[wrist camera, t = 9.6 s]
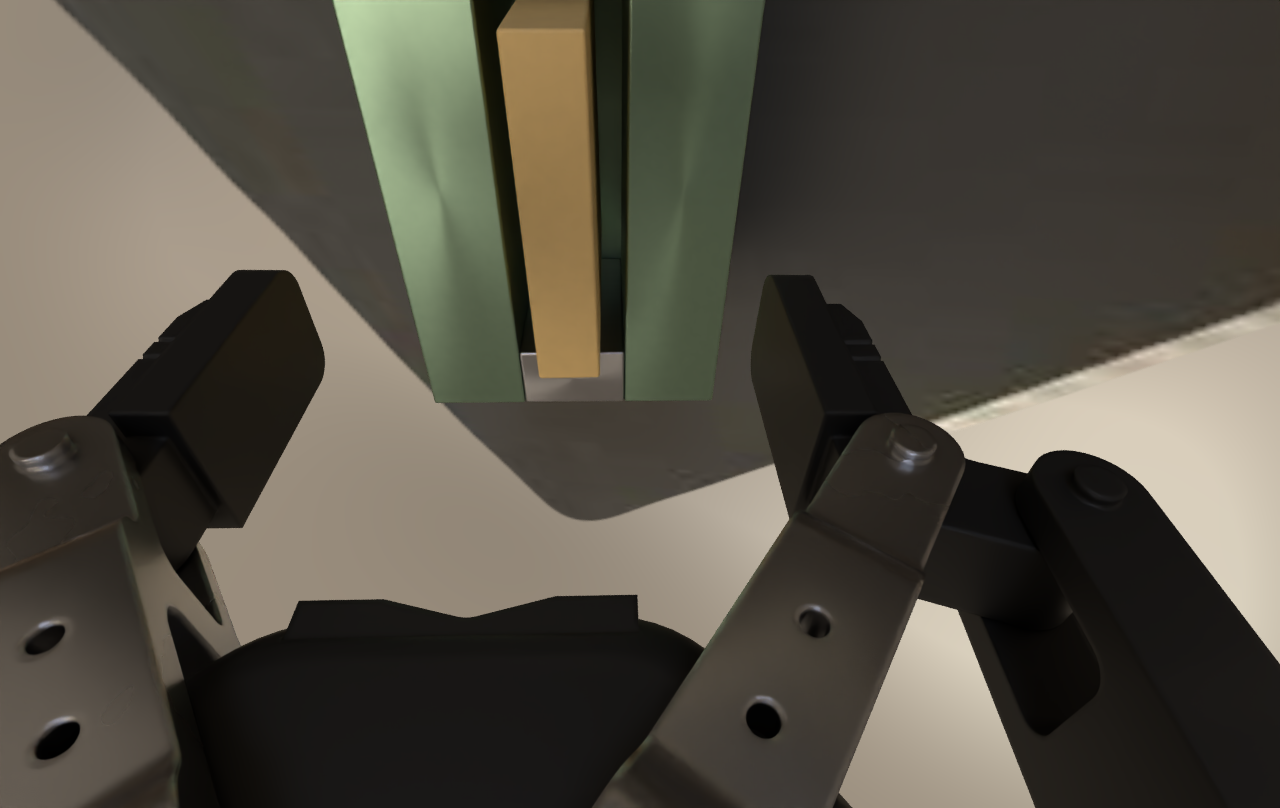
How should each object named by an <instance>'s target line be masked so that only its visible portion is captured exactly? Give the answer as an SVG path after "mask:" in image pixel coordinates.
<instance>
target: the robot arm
mask: <svg viewBox="0 0 1280 808" xmlns="http://www.w3.org/2000/svg"><path fill="white" fill-rule="evenodd" d="M158 339H159V342H154V343H153V344H152V345H151V346H150V347H149V348H148V350H147V351H146V352H145V353H144V354H143V359H138V361H137V362H136V363H135V364H134V365H133V366H132V367H131V368H130V369H129V370H128V371H127V372H126V373H125V374H124V376H123V377H122V378H121V379H120V380H119V381H118V382H117V383H116V384H115V385H114V386H113V388H112V389H111V390H110V391H109V392H108V393H107V394H106V395H105V396H104V397H103V398H102V400H101V401H100V402H99V403H98V404H97V405H96V406H95V407H94V408H93V409H92V410H91V411H90V412H89V414H88V415H87V416H71V417H64V418H59V419H55V420H51V421H48V422H44V423H41V424H38V425H36V426H33V427H30V428H28V429H26V430H24V431H22V432H20V433H18V434H16V435H14V436H13V437H11V438H9V439H7V440H6V441H4V442H3V443H1V444H0V808H852V807H851V806H850V805H849V804H848V803H847V801H846V800H845V799H844V798H843V797H842V796H841V795H840V794H839V790H840V788H841V785H842V783H843V780H844V778H845V775H846V773H847V771H848V768H849V766H850V763H851V760H852V758H853V756H854V753H855V751H856V748H857V746H858V743H859V741H860V738H861V736H862V734H863V731H864V729H865V726H866V724H867V721H868V719H869V716H870V714H871V711H872V709H873V706H874V704H875V702H876V699H877V697H878V694H879V692H880V689H881V687H882V684H883V682H884V679H885V677H886V674H887V672H888V670H889V667H890V665H891V662H892V660H893V657H894V655H895V652H896V650H897V647H898V645H899V642H900V640H901V638H902V635H903V633H904V630H905V628H906V625H907V623H908V620H909V618H910V615H911V613H912V610H913V608H914V606H915V603H916V600H917V599H921V600H924V601H928V602H931V603H935V604H939V605H942V606H946V607H949V608H953V609H957V610H958V612H959V615H960V617H961V619H962V622H963V624H964V627H965V630H966V632H967V634H968V637H969V640H970V642H971V645H972V647H973V650H974V652H975V655H976V658H977V660H978V663H979V665H980V668H981V671H982V673H983V675H984V678H985V681H986V683H987V686H988V688H989V691H990V693H991V696H992V698H993V701H994V704H995V706H996V709H997V711H998V714H999V716H1000V719H1001V721H1002V724H1003V726H1004V729H1005V731H1006V734H1007V737H1008V739H1009V742H1010V744H1011V746H1012V749H1013V752H1014V754H1015V757H1016V759H1017V762H1018V765H1019V767H1020V770H1021V772H1022V775H1023V777H1024V780H1025V782H1026V785H1027V787H1028V790H1029V793H1030V795H1031V798H1032V800H1033V802H1034V805H1035V808H1280V664H1279V662H1278V661H1277V660H1276V659H1275V657H1274V656H1273V655H1272V653H1271V652H1270V651H1269V649H1268V648H1267V647H1266V646H1265V644H1264V643H1263V641H1262V640H1261V639H1260V638H1259V637H1258V635H1257V634H1256V632H1255V631H1254V630H1253V628H1252V627H1251V626H1250V624H1249V623H1248V622H1247V621H1246V619H1245V618H1244V617H1243V615H1242V614H1241V613H1240V611H1239V610H1238V609H1237V607H1236V606H1235V605H1234V603H1233V602H1232V601H1231V600H1230V598H1229V597H1228V596H1227V594H1226V593H1225V592H1224V590H1223V589H1222V588H1221V586H1220V585H1219V584H1218V583H1217V581H1216V580H1215V579H1214V577H1213V576H1212V575H1211V573H1210V572H1209V571H1208V569H1207V568H1206V567H1205V565H1204V564H1203V563H1202V562H1201V560H1200V559H1199V558H1198V556H1197V555H1196V554H1195V552H1194V551H1193V550H1192V549H1191V547H1190V546H1189V545H1188V543H1187V542H1186V541H1185V539H1184V538H1183V537H1182V535H1181V534H1180V533H1179V531H1178V530H1177V529H1176V528H1175V526H1174V525H1173V524H1172V522H1171V521H1170V520H1169V518H1168V517H1167V516H1166V515H1165V513H1164V512H1163V510H1162V509H1161V508H1160V507H1159V505H1158V504H1157V503H1156V501H1155V500H1154V499H1153V497H1152V496H1151V495H1150V494H1149V492H1148V491H1147V490H1146V489H1145V488H1144V486H1143V485H1142V484H1141V483H1139V482H1138V481H1137V480H1136V479H1135V478H1134V477H1133V476H1131V475H1130V474H1128V473H1127V472H1126V471H1124V470H1123V469H1121V468H1119V467H1118V466H1116V465H1114V464H1112V463H1110V462H1108V461H1106V460H1103V459H1101V458H1099V457H1096V456H1093V455H1090V454H1086V453H1082V452H1076V451H1067V450H1063V451H1062V450H1061V451H1053V452H1049V453H1046V454H1043V455H1042V456H1041V457H1039V458H1038V459H1037V461H1036V462H1035V463H1034V465H1033V466H1032V468H1031V469H1030V471H1029V472H1028V473H1023V472H1019V471H1014V470H1010V469H1006V468H1001V467H997V466H993V465H988V464H984V463H979V462H976V461H972V460H968V459H966V458H965V457H964V454H963V451H962V450H961V448H960V446H959V444H958V443H957V442H956V441H955V439H954V438H953V437H952V436H951V435H950V434H948V433H947V432H946V431H945V430H943V429H942V428H940V427H939V426H937V425H935V424H934V423H932V422H929V421H927V420H925V419H922V418H920V417H917V416H913V415H912V414H911V412H910V410H909V408H908V406H907V405H906V403H905V401H904V399H903V397H902V395H901V393H900V392H899V390H898V388H897V386H896V384H895V382H894V380H893V378H892V377H891V375H890V373H889V371H888V369H887V367H886V365H885V364H884V362H883V361H881V356H880V354H879V352H878V351H877V349H876V347H875V345H872V339H871V337H870V336H869V334H868V332H867V330H866V328H865V326H864V324H863V323H862V321H861V320H860V319H858V318H857V317H856V316H855V315H854V314H852V313H851V312H850V311H849V310H847V309H846V308H845V307H844V306H843V305H841V304H826V302H825V300H824V298H823V295H822V293H821V291H820V289H819V287H818V285H817V283H816V281H815V279H814V277H813V276H811V275H768V276H767V278H766V280H765V282H764V286H763V291H762V296H761V302H760V307H759V312H758V318H757V323H756V328H755V334H754V339H753V344H752V351H751V376H752V382H753V386H754V390H755V393H756V397H757V401H758V404H759V408H760V412H761V415H762V419H763V423H764V427H765V430H766V434H767V438H768V441H769V445H770V449H771V452H772V456H773V460H774V464H775V467H776V471H777V475H778V478H779V482H780V486H781V489H782V493H783V497H784V500H785V504H786V508H787V511H788V515H789V521H788V522H787V524H786V525H785V527H784V528H783V530H782V531H781V533H780V534H779V536H778V538H777V539H776V541H775V542H774V544H773V545H772V547H771V548H770V550H769V552H768V553H767V554H766V556H765V557H764V559H763V560H762V562H761V564H760V565H759V567H758V568H757V570H756V571H755V573H754V574H753V576H752V578H751V579H750V580H749V582H748V583H747V585H746V586H745V588H744V590H743V591H742V593H741V594H740V596H739V597H738V599H737V600H736V602H735V603H734V605H733V606H732V608H731V609H730V611H729V612H728V614H727V616H726V617H725V619H724V620H723V622H722V623H721V625H720V626H719V628H718V629H717V631H716V633H715V634H714V636H713V637H712V639H711V640H710V642H709V643H708V645H707V646H706V648H703V647H702V646H700V645H699V644H697V643H696V642H694V641H693V640H691V639H690V638H688V637H686V636H684V635H682V634H680V633H678V632H676V631H674V630H672V629H669V628H666V627H664V626H661V625H658V624H656V623H652V622H648V621H644V620H640V619H638V603H637V602H638V600H637V595H603V596H602V595H600V596H555V597H551V598H547V599H543V600H540V601H535V602H531V603H528V604H524V605H520V606H515V607H511V608H507V609H504V610H500V611H496V612H492V613H488V614H484V615H480V616H476V617H471V618H462V617H456V616H452V615H447V614H443V613H439V612H435V611H430V610H427V609H422V608H418V607H413V606H410V605H405V604H401V603H397V602H392V601H388V600H384V599H382V600H381V599H376V600H320V601H299V602H298V604H297V607H296V609H295V611H294V614H293V616H292V619H291V621H290V623H289V626H288V628H287V629H285V630H281V631H278V632H275V633H272V634H270V635H267V636H264V637H261V638H258V639H256V640H254V641H252V642H249V643H247V644H245V645H243V646H241V645H240V643H239V641H238V638H237V636H236V633H235V631H234V628H233V625H232V622H231V619H230V617H229V614H228V611H227V608H226V606H225V603H224V600H223V597H222V594H221V592H220V589H219V586H218V583H217V581H216V578H215V575H214V572H213V570H212V567H211V564H210V561H209V558H208V556H207V554H206V552H205V550H204V549H203V547H202V546H201V545H200V543H199V540H200V538H201V537H202V535H203V533H204V532H205V530H206V528H243V526H244V524H245V522H246V520H247V518H248V516H249V515H250V513H251V511H252V509H253V507H254V505H255V503H256V502H257V500H258V498H259V496H260V494H261V492H262V491H263V488H264V487H265V485H266V483H267V481H268V479H269V477H270V476H271V474H272V472H273V470H274V468H275V466H276V464H277V463H278V461H279V459H280V457H281V455H282V453H283V452H284V450H285V448H286V446H287V444H288V442H289V440H290V439H291V437H292V435H293V433H294V431H295V429H296V427H297V426H298V424H299V422H300V420H301V418H302V416H303V414H304V413H305V411H306V409H307V407H308V405H309V403H310V401H311V399H312V398H313V396H314V394H315V392H316V390H317V389H318V387H319V385H320V383H321V381H322V378H323V375H324V368H325V357H324V351H323V347H322V344H321V341H320V338H319V336H318V333H317V331H316V328H315V326H314V323H313V320H312V318H311V315H310V313H309V310H308V307H307V305H306V302H305V300H304V297H303V295H302V292H301V289H300V287H299V284H298V282H297V280H296V279H295V277H294V276H293V275H292V274H291V273H290V272H288V271H285V270H237V271H235V272H234V273H232V275H231V276H230V277H229V278H228V279H227V280H226V281H225V282H224V284H223V285H222V286H221V287H220V288H219V289H218V290H217V291H216V292H215V294H214V295H213V296H212V297H211V298H210V299H209V300H206V301H203V302H202V303H200V304H198V305H197V306H195V307H193V308H192V309H190V310H188V311H187V312H185V313H183V314H182V315H180V316H178V317H177V318H176V319H175V320H174V321H173V322H172V323H171V324H170V326H169V327H168V328H167V329H166V330H165V331H164V332H163V333H162V334H161V335H160V336H159V338H158Z"/></svg>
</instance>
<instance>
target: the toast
mask: <svg viewBox="0 0 1280 808" xmlns="http://www.w3.org/2000/svg"><path fill="white" fill-rule="evenodd" d="M496 34H497V42H498V50H499V58H500V66H501V75H502V83H503V91H504V99H505V107H506V115H507V123H508V131H509V139H510V147H511V155H512V163H513V171H514V179H515V187H516V195H517V203H518V211H519V219H520V227H521V235H522V243H523V251H524V259H525V267H526V275H527V283H528V292H529V300H530V308H531V316H532V324H533V332H534V340H535V348H536V356H537V364H538V372H539V376H540V378H583V377H599V375H600V326H601V240H602V229H601V198H600V167H599V136H598V106H597V75H596V44H595V14H594V0H516V1H515V2H514V4H513V5H512V7H511V8H510V10H509V11H508V13H507V15H506V16H505V18H504V19H503V21H502V22H501V24H500V26H499V27H498V29H497V32H496Z"/></svg>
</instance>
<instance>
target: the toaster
mask: <svg viewBox="0 0 1280 808" xmlns="http://www.w3.org/2000/svg"><path fill="white" fill-rule="evenodd" d="M515 1H516V0H332V4H333V8H334V11H335V15H336V19H337V23H338V27H339V31H340V35H341V39H342V43H343V46H344V50H345V54H346V58H347V62H348V66H349V70H350V74H351V78H352V81H353V85H354V89H355V93H356V97H357V101H358V105H359V109H360V112H361V116H362V120H363V124H364V128H365V132H366V136H367V140H368V144H369V147H370V151H371V155H372V159H373V163H374V167H375V171H376V175H377V179H378V182H379V186H380V190H381V194H382V198H383V202H384V206H385V210H386V213H387V217H388V221H389V225H390V229H391V233H392V237H393V241H394V245H395V248H396V252H397V256H398V260H399V264H400V268H401V272H402V276H403V280H404V283H405V287H406V291H407V295H408V299H409V303H410V307H411V311H412V315H413V318H414V322H415V326H416V330H417V334H418V338H419V342H420V346H421V349H422V353H423V357H424V361H425V365H426V369H427V373H428V377H429V381H430V384H431V388H432V392H433V396H434V400H435V402H436V403H471V402H524V401H525V399H526V401H527V402H568V401H623V399H625V401H684V400H711V399H712V396H713V388H714V381H715V373H716V366H717V358H718V351H719V343H720V336H721V328H722V321H723V313H724V306H725V298H726V291H727V283H728V276H729V269H730V261H731V254H732V246H733V239H734V231H735V224H736V216H737V209H738V201H739V194H740V186H741V179H742V171H743V164H744V156H745V149H746V141H747V134H748V127H749V119H750V112H751V104H752V97H753V89H754V82H755V74H756V67H757V59H758V52H759V44H760V37H761V29H762V22H763V14H764V7H765V0H594V14H595V44H596V75H597V106H598V136H599V167H600V198H601V229H602V240H601V326H600V375H599V377H583V378H540V376H539V372H538V364H537V356H536V348H535V340H534V332H533V324H532V316H531V308H530V300H529V292H528V283H527V275H526V267H525V259H524V251H523V243H522V235H521V227H520V219H519V211H518V203H517V195H516V187H515V179H514V171H513V163H512V155H511V147H510V139H509V131H508V123H507V115H506V107H505V99H504V91H503V83H502V75H501V66H500V58H499V50H498V42H497V34H496V32H497V29H498V27H499V26H500V24H501V22H502V21H503V19H504V18H505V16H506V15H507V13H508V11H509V10H510V8H511V7H512V5H513V4H514V2H515Z"/></svg>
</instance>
